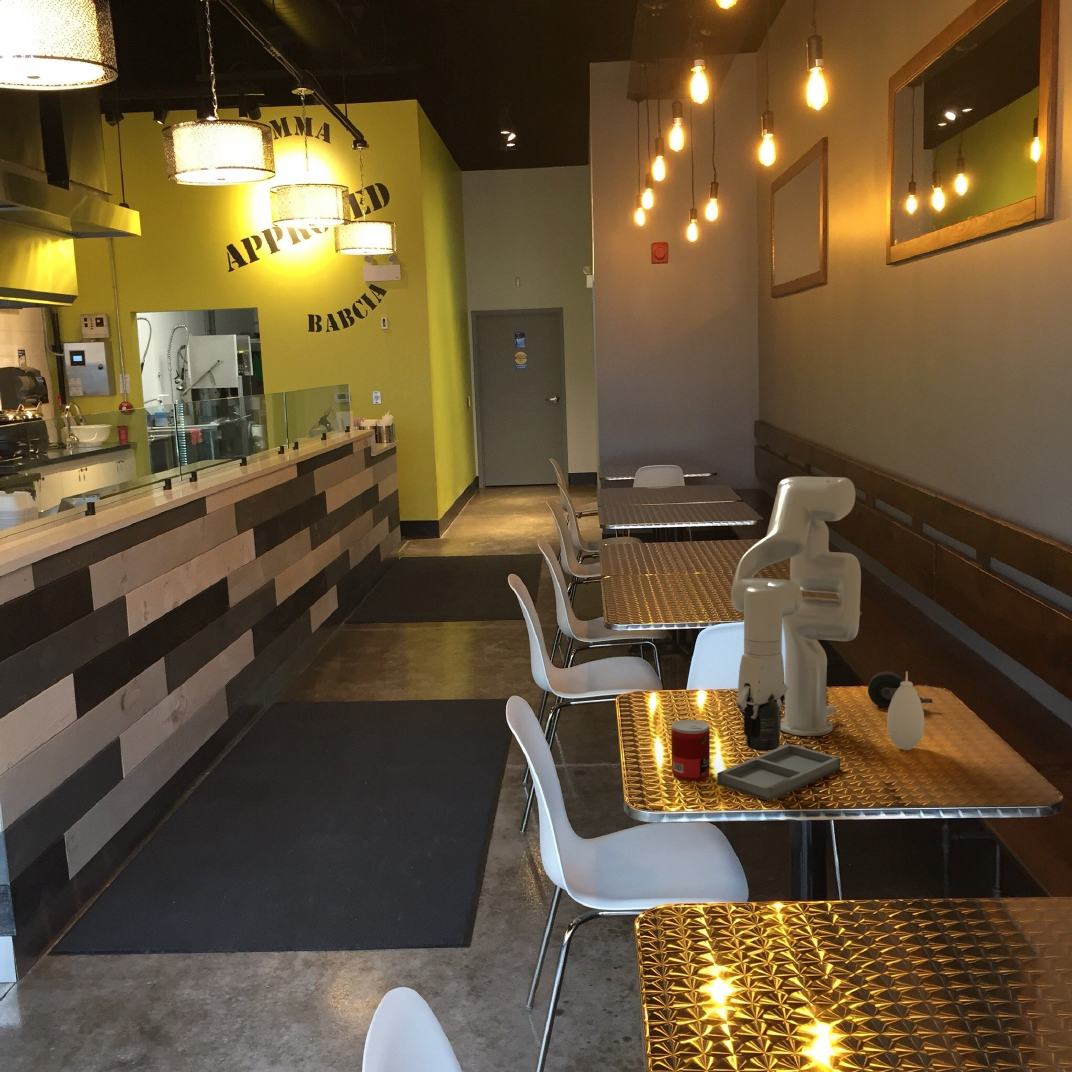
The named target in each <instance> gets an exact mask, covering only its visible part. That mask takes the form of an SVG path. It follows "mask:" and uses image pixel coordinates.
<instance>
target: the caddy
mask: <svg viewBox="0 0 1072 1072" xmlns="http://www.w3.org/2000/svg"><path fill="white" fill-rule="evenodd" d="M839 770H841V757H838V756H835V755H833V754H832V755H831V754H828V753H825V752H820V751H817V750H813V749H810V748H806V747H802V746H798V745H796V744H795V745H794V744H792V743H787V744H784V745H782V746H781V745H780V746H779V747H778V748H777V749H775V750H770V751H766V752H765V753H763V754H760V755H758V756H755V757H752V758H751V759H748V760H745V761H743V762H741V763H739V764H735V765H734V766H732V767H728V768H726V769H724V770H722V771H718V772H717V775H716V778H717V779H716V781H717V782H716V783H717V786H719V787H723V788H726V789H729V790H733V791H735V792H738V791H740V792H739V793H741V792H743V793H742V794H744V793H745V794H744V795H747V794H748V795H747V796H750V795H751V796H750V797H753V796H754V798H756V797H758V798H757V799H759V798H761V799H760V800H762V799H764V800H763V801H765V800H768V801H771V800H773V801H775V800H777V799H779V798H781V797H784V796H786V795H787V794H790V793H792V792H794V791H796V790H798V789H800V788H803V787H805V786H807V785H809V784H811V783H813V782H815V781H817V780H819V779H822V778H824V777H826V776H828V775H831V774H832V773H835V772H837V771H839ZM791 791H792V792H791ZM789 792H790V793H789ZM785 794H786V795H785ZM780 796H781V797H780ZM778 797H779V798H778ZM776 798H777V799H776ZM774 799H775V800H774ZM768 801H767V802H768ZM771 802H772V801H771Z"/></svg>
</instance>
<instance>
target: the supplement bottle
mask: <svg viewBox="0 0 1072 1072" xmlns="http://www.w3.org/2000/svg"><path fill="white" fill-rule="evenodd" d="M774 699H775V697H774V694H773V692H772V695H770V696H769V699H768V700H767V701H769V702H767V703H764V704H762V705H760V706H759V709H758V713H757V717H756V718H758V720H759V734H758V737H757V738H754V737H750V736H746V735H745V744H746V747H747V748H749V749H751V750H754V751H760V752H769V751H772V750H775V749H777V748H779V747H780V746H781V745H780V744H781V743H780V742H781V732H780V731H781V729H780V707H779V705H778V703H777V702H775V701H774ZM751 702H753V700H752V699H751ZM749 708H750V709H751V710H753V706H751V705H750V707H749Z"/></svg>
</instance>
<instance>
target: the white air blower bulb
mask: <svg viewBox="0 0 1072 1072" xmlns="http://www.w3.org/2000/svg"><path fill="white" fill-rule="evenodd" d="M908 674H909V673H908V670H906V672H905V680H903V682H901V683H900V685H901V686H900V687H899V688H898V689H897V691H896V692H895V694H894V696H893V698H892V700H891V703H890V706H889V709H887V719H886V721H887V722H886V723H887V725H886V727H887V733H888V736H889V739H890V740H891V743H893V745H895V746H896V747H897V748H898V749H900V750H901V749H903V750H902V751H905V750H908V751H910V750H913V749H914V747H917V746H918V745H919V743H920V742H921V741H922V740H921V739H922V738H923V735H924V732H925V731H924V730H925V713H924V707H923V703H922V704H921V701H920V698H919V697H920V695H919V696H918V694H919V693H918V692H917V690H916V689H915V688H914V684H913V682H912V681H909V675H908ZM912 686H913V687H912ZM917 693H918V694H917Z"/></svg>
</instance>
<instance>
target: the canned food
mask: <svg viewBox="0 0 1072 1072" xmlns="http://www.w3.org/2000/svg"><path fill="white" fill-rule="evenodd" d="M670 727H671V772H672V775H673V777H674V778H676V779H677V780H682V781H686V782H700V781H702V780H706V779H708V777H709V776H710V769H711V768H710V765H711V763H710V761H711V760H710V759H711V758H710V750H711V749H710V748H711V747H710V744H711V743H710V742H711V741H710V739H711V738H710V735H711V734H710V724H709V723H707V722H706V721H703V720H700V719H679V720H675V721H674V722H672V723H671V726H670Z"/></svg>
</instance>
